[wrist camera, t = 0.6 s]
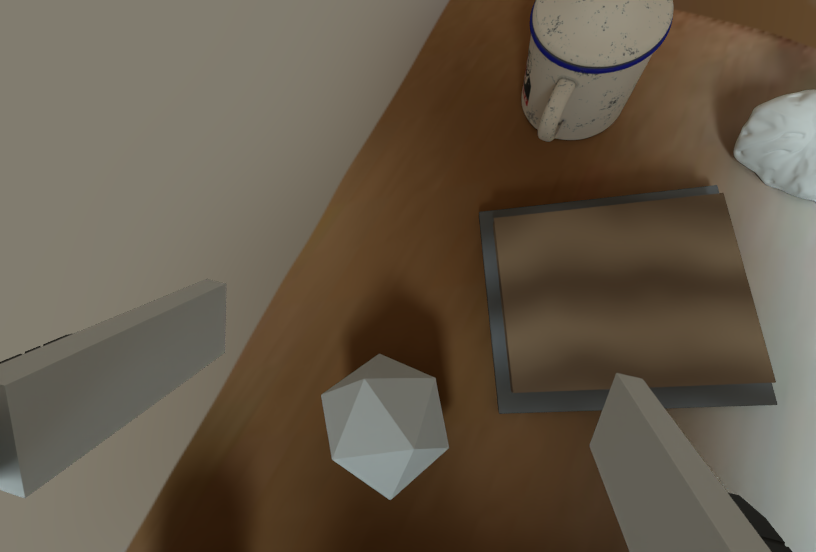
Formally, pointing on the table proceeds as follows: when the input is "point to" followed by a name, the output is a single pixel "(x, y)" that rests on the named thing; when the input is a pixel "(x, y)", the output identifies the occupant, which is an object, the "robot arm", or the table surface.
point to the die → (385, 424)
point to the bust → (782, 143)
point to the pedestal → (622, 303)
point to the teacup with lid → (588, 61)
